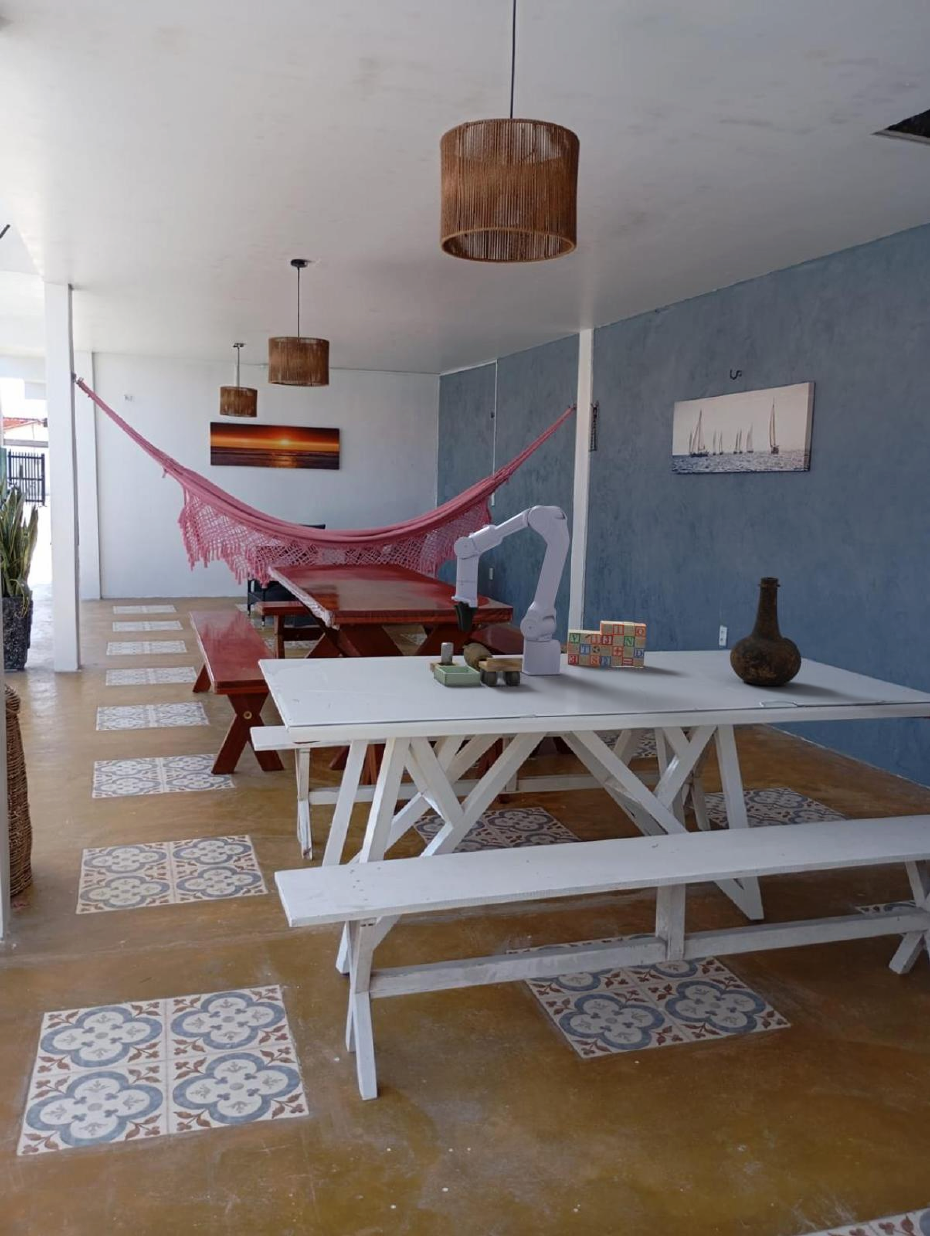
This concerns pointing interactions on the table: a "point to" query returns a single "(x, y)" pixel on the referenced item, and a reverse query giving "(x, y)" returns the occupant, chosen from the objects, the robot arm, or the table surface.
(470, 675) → the tray
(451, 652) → the pin
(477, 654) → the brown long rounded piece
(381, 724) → the table surface
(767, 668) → the glass bottle
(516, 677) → the trolley
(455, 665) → the pin holder
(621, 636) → the stack of blocks
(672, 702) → the table surface
